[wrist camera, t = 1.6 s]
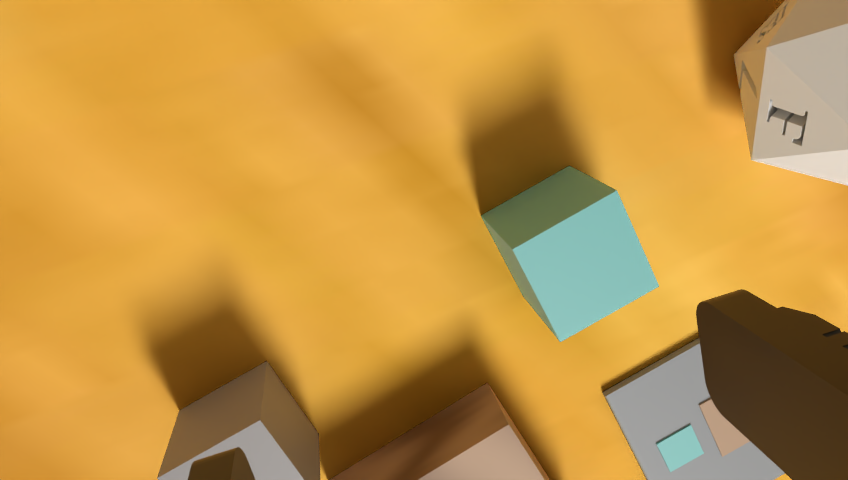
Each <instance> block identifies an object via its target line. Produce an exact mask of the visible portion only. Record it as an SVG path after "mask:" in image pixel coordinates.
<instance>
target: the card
mask: <svg viewBox="0 0 848 480" xmlns="http://www.w3.org/2000/svg"><path fill="white" fill-rule="evenodd" d="M602 393H603V395H604V397H605V399H606V400H607V402H608V404H609V406H610V408H611V410H612V412H613V414H614V416H615V418H616V420H617V422H618V424H619V426H620V428H621V430H622V432H623V434H624V436H625V438H626V440H627V442H628V444H629V446H630V448H631V450H632V452H633V454H634V456H635V458H636V460H637V462H638V463H639V465H640V467H641V469H642V471H643V473H644V475H645V477H646V479H647V480H774V479H776V478H778V477H779V476H781V475H783V474H785V472H783V471H782V470H781V469H780V468H779V467H778V466H777V465H776V464H775V463H774V462H772V461H771V460H770V459H769V458H768V457H767V456H766V455H765V454H764V453H763V452H762V451H760V450H759V449H758V448H757V447H756V446H755V445H754V444H753V443H752V442H751V441H749V440H748V439H747V438H746V437H745V436H744V435H743V434H742V433H741V432H740V431H739V430H737V429H736V428H735V427H734V426H733V425H732V424H731V423H730V422H729V421H728V420H727V419H725V418H724V417H723V416H722V415H721V413H720V412H719V411H718V410H717V408H716V407H715V405H714V403H713V401H712V399H711V397H710V395H709V393H708V390H707V387H706V383H705V377H704V369H703V362H702V354H701V347H700V340H699V338H698V339H696V340H694V341H692V342H691V343H689V344H687V345H685V346H684V347H682V348H680V349H678V350H676V351H675V352H673V353H671V354H669V355H668V356H666V357H664V358H662V359H661V360H659V361H657V362H655V363H653V364H652V365H650V366H648V367H646V368H645V369H643V370H641V371H639V372H638V373H636V374H634V375H632V376H630V377H629V378H627V379H625V380H623V381H622V382H620V383H618V384H616V385H615V386H613V387H611V388H609V389H607V390H606V391H604V392H602Z"/></svg>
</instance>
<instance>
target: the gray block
mask: <svg viewBox="0 0 848 480" xmlns="http://www.w3.org/2000/svg"><path fill="white" fill-rule="evenodd" d="M237 447H240V448H241V449H242V450H243V452H244V453H245V455H246V457H247V460H248V462H249V465H250V467H251V470H252V472H253V475H254V477H255V480H320V457H319V434H318V432H317V431H316V429H315V428H314V427H313V425H312V424H311V422H310V421H309V420H308V418H307V417H306V415H305V414H304V413H303V411H302V410H301V408H300V407H299V405H298V404H297V403H296V401H295V400H294V398H293V397H292V396H291V394H290V393H289V391H288V390H287V389H286V387H285V386H284V384H283V383H282V382H281V380H280V379H279V377H278V376H277V374H276V373H275V372H274V370H273V369H272V367H271V366H270V365H269V363H268V362H267V361H266V362H264V363H262V364H261V365H259V366H257V367H255V368H254V369H252V370H250V371H248V372H246V373H245V374H243V375H241V376H239V377H238V378H236V379H234V380H232V381H231V382H229V383H227V384H225V385H223V386H222V387H220V388H218V389H216V390H215V391H213V392H211V393H209V394H208V395H206V396H204V397H202V398H201V399H199V400H197V401H195V402H193V403H192V404H190V405H188V406H186V407H185V408H183V409H181V410H179V413H178V416H177V419H176V422H175V426H174V429H173V432H172V435H171V438H170V441H169V444H168V447H167V450H166V453H165V456H164V459H163V462H162V465H161V468H160V471H159V474H158V477H157V479H158V480H188V476H189V472H190V468H191V465H192V463H193V462H194V461H195V460H199V459H202V458H205V457H208V456H211V455H214V454H218V453H221V452H224V451H227V450H230V449H233V448H237Z"/></svg>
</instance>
